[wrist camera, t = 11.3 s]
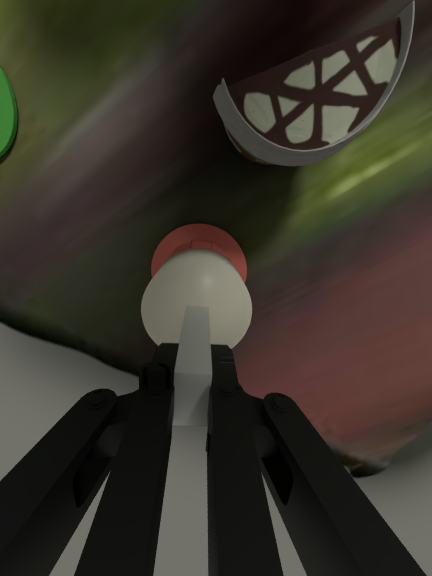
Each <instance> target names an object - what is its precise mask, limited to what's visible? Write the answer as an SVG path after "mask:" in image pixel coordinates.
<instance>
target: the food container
mask: <svg viewBox="0 0 432 576" xmlns="http://www.w3.org/2000/svg"><path fill="white" fill-rule="evenodd" d="M414 3H415V1H413V2H412V3H411V4H409V5H408V6H407V7H406V8H405V9H404V10H403V11H402V12H401V13H399V14H398V15H397V16H396V17H395V18H394V19H392V20H388V21H385V22H384V23H382V24H380V25H378V26H376V27H374V28H371V29H369V30H366V31H364V32H361V33H358V34H356V35H353V36H350V37H348V38H345V39H342V40H339V41H337V42H333V43H330V44H327V45H324V46H321V47H318V48H315V49H313V50H310V51H308V52H306V53H304V54H302V55H299V56H297V57H295V58H293V59H291V60H289V61H287V62H284V63H282V64H280V65H277V66H275V67H273V68H271V69H268V70H266V71H263V72H261V73H258V74H256V75H254V76H251V77H249V78H246V79H244V80H241V81H239V82H236V83H234V84H231V85H229V86H226V83H225V80H224V78H222V82H221V84H220V85H218V86H217V88H216V90H215V92H214V94H213V100H214V102H215V105H216V108H217V110H218V113H219V115H220V117H221V118H222V120H223V122H224V127H225V130H226V133H227V136H228V138H229V140H230V141H231V143H232V144H233V146H234V147H235V148H236V150H237V151H238V152H239V153H240V154H241V155H243V156H244V157H245V158H247V159H248V160H249V161H252V162H255V163H259V164H262V165H273V164H277V165H281V166H302V165H308V164H312V163H315V162H319V161H321V160H323V159H325V158H328V157H330V156H332V155H333V154H335V153H336V152H338V151H339V150H341V149H342V148H344V147H345V146H346V145H347V144H348V143H349V142H351V141H352V140H353V139H354V138H355V137H356V136H357V135H358V134H360V133H361V132H362V131H363V130H364V129H365V128H366V127H367V126H368V125H369V123H370V122H371V121H372V120H373V119H374V118H375V117H376V115H377V114H378V112H379V111H380V109H381V108H382V107H383V105H384V104H385V102H386V100H387V99H388V97H389V96H390V94H391V92H392V90H393V88H394V86H395V85H396V83H397V81H398V79H399V77H400V74H401V71H402V69H403V66H404V64H405V61H406V58H407V54H408V50H409V46H410V42H411V38H412V30H413V23H414Z"/></svg>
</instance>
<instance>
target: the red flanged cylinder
mask: <svg viewBox="0 0 432 576" xmlns="http://www.w3.org/2000/svg"><path fill="white" fill-rule="evenodd" d="M189 248H207V249H211V250H214V251H216V252H219V253H220V254H222V255H224V256H225V257H226V258H228V259H229V260H230V261H231V262H232V263H233V264H234V266H235V267H236V269H237V271H238V272H239V274H240V276H241V278H242V280H243V282H244V284H245V281H246V276H247V266H246V260H245V257H244V254H243V251H242V250H241V248H240V246H239V245H238V243H237V242H236V241H235V240H234V239H233V237H232V236H230V235H229V234H228V233H227V232H225V231H224V230H222V229H220V228H218V227H216V226H213V225H209V224H202V223H195V224H188V225H185V226H182V227H179V228H177V229H175V230H174V231H172V232H171V233H169V234H168V235H167V236H166V237H165V238H164V239H163V240H162V241H161V242H160V244H159V245H158V247H157V248H156V250H155V253H154V255H153V258H152V263H151V276H152V278H153V277H154V275H155V274H156V273H157V271H158V270H159V268H160V267H161V265H162V264H163V263H164V262H165V261H166V260H167V259H168V258H169V257H170V256H172V255H173V254H175V253H177V252H179V251H182V250H185V249H189Z"/></svg>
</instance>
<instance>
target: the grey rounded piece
mask: <svg viewBox="0 0 432 576" xmlns="http://www.w3.org/2000/svg"><path fill="white" fill-rule="evenodd" d="M186 306H199V307H209V323H210V342H211V344H220V345H228V346H229V348H230V349H232V348H233V347H234V346H235V345H237V344H238V342H239V341H240V340H241V339H242V338H243V336H244V335H245V333H246V331H247V330H248V327H249V324H250V321H251V317H252V303H251V298H250V295H249V292H248V290H247V288H246V286H245V284H244V282H243V280H242V278H241V276H240V274H239V272H238V271H237V269H236V267H235V266H234V264H233V263H232V262H231V261H230V260H229V259H228V258H226V257H225V256H224V255H222V254H220V253H219V252H216V251H214V250H211V249H207V248H189V249H185V250H182V251H179V252H177V253H175V254H173V255H172V256H170V257H169V258H168V259H167V260H166V261H165V262H164V263H163V264H162V265H161V267H160V268H159V270H158V271H157V273H156V274H155V275H154V277H153V278H152V280H151V281H150V283H149V284H148V286H147V288H146V290H145V292H144V295H143V298H142V303H141V315H142V320H143V324H144V327H145V329H146V331H147V333H148V334H149V336H150V337H151V339H152V340H153V341H154V342H155V343H156V344H157V345H158V346H159V345H160V344H161V343H179V342H180V336H181V330H182V325H183V319H184V313H185V308H186Z"/></svg>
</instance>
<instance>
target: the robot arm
mask: <svg viewBox="0 0 432 576" xmlns="http://www.w3.org/2000/svg"><path fill="white" fill-rule="evenodd" d="M207 424H208V431H207V441H206V451H207V487H208V488H207V490H208V492H207V494H208V573H209V574H208V575H209V576H283V571H282V567H281V562H280V558H279V553H278V548H277V543H276V539H275V534H274V530H273V525H272V520H271V516H270V511H269V506H268V502H267V497H266V492H265V488H264V483H263V479H262V474H263V477H264V479H265V481H266V483H267V486H268V488H269V490H270V492H271V495H272V497H273V499H274V501H275V504H276V506H277V508H278V511H279V513H280V515H281V517H282V519H283V522H284V524H285V526H286V529H287V531H288V533H289V536H290V538H291V540H292V542H293V545H294V547H295V549H296V551H297V554H298V556H299V558H300V561H301V563H302V565H303V567H304V569H305V571H306V574H307V576H426V574H425V573H424V572H423V570H422V569H421V568H420V566H419V565H418V564H417V562H416V561H415V560H414V558H413V557H412V556H411V555H410V553H409V552H408V551H407V549H406V548H405V547H404V545H403V544H402V543H401V541H400V540H399V539H398V537H397V536H396V535H395V533H394V532H393V531H392V530H391V528H390V527H389V526H388V524H387V523H386V522H385V520H384V519H383V518H382V516H381V515H380V514H379V512H378V511H377V510H376V508H375V507H374V506H373V504H372V503H371V502H370V500H369V499H368V498H367V497H366V495H365V494H364V493H363V491H362V490H361V489H360V487H359V486H358V485H357V483H356V482H355V481H354V479H353V478H352V477H351V475H350V474H349V473H348V471H347V470H346V469H345V468H344V466H343V465H342V464H341V462H340V461H339V460H338V458H337V457H336V456H335V454H334V453H333V452H332V450H331V449H330V448H329V446H328V445H327V444H326V442H325V441H324V440H323V439H322V437H321V436H320V435H319V433H318V432H317V431H316V429H315V428H314V427H313V425H312V424H311V423H310V421H309V420H308V419H307V417H306V416H305V415H304V414H303V412H302V411H301V410H300V408H299V407H298V406H297V404H296V403H295V402H294V401H293V400H292V399H291V398H290V397H288V396H286V395H284V394H281V393H270V394H267V395H266V396H265V397H264V399H260V398H257V397H254V396H251V395H249V394H247V393H246V392H244V390H243V388H242V386H241V385H239V383H238V378H237V373H236V368H235V363H234V358H233V353H232V350H231V349H230V348H229V346H228V345H220V344H211V342H210V323H209V307H199V306H186V308H185V313H184V319H183V325H182V330H181V336H180V342H179V343H161V344H160V345H159V346H158V347H157V348H156V351H155V354H154V357H153V361H152V362H149V363H146V364H145V365H143V366H142V367H141V368H140V370H139V389H138V390H136V391H134V392H133V393H129V394H126V395H121V396H117V395H116V394H115V392H114V391H112V390H109V389H97V390H93V391H91V392H89V393H87V394H85V395H84V396H83V397H82V398H81V399H80V400H79V401H78V402H77V403H76V404H75V405H74V406H73V407H72V408H71V409H70V410H69V411H68V412H67V413H66V414H65V415H64V416H63V417H62V418H61V419H60V420H59V421H58V422H57V423H56V424H55V426H53V427H52V428H51V429H50V430H49V432H48V433H47V434H46V435H45V436H44V437H43V438H42V439H41V440H40V441H39V442H38V443H37V444H36V445H35V446H34V447H33V448H32V449H31V450H30V451H29V452H28V453H27V454H26V455H25V456H24V457H23V458H22V460H20V462H18V464H16V465H15V467H14V468H13V469H12V470H11V471H10V472H9V473H8V474H7V475H6V476H5V477H4V478H3V479H2V480H1V481H0V576H49V575H50V573H51V571H52V569H53V568H54V566H55V564H56V563H57V561H58V559H59V558H60V556H61V554H62V552H63V551H64V549H65V547H66V546H67V544H68V542H69V540H70V539H71V537H72V535H73V533H74V532H75V530H76V528H77V527H78V525H79V523H80V522H81V520H82V518H83V517H84V515H85V513H86V511H87V510H88V508H89V506H90V505H91V503H92V501H93V499H94V498H95V496H96V494H97V493H98V491H99V489H100V487H101V486H102V484H103V482H104V481H105V478H106V477H107V476H108V474H109V472H110V474H109V477H108V479H107V482H106V485H105V488H104V491H103V494H102V497H101V500H100V502H99V505H98V508H97V511H96V514H95V517H94V520H93V523H92V525H91V529H90V532H89V534H88V538H87V540H86V543H85V546H84V549H83V551H82V554H81V557H80V560H79V563H78V566H77V569H76V572H75V574H74V576H153V572H154V565H155V558H156V550H157V543H158V535H159V528H160V520H161V513H162V505H163V498H164V490H165V483H166V476H167V468H168V460H169V453H170V445H171V438H172V425H174V426H177V425H178V426H207ZM110 470H111V471H110ZM261 472H262V474H261Z"/></svg>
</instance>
